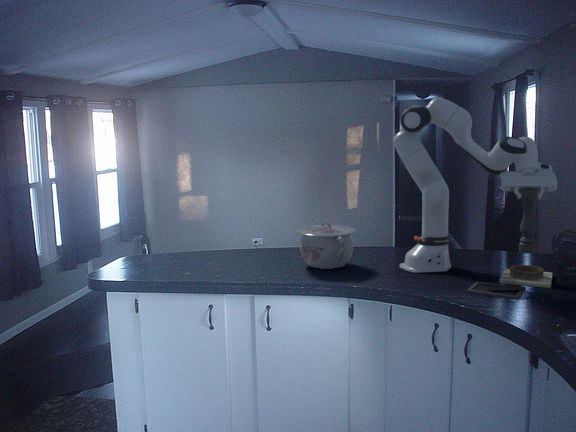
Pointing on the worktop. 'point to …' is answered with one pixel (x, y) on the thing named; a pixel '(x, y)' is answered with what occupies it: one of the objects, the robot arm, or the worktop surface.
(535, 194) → the candle holder
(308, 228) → the chamber pot
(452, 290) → the worktop surface
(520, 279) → the collar board
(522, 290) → the picture frame
